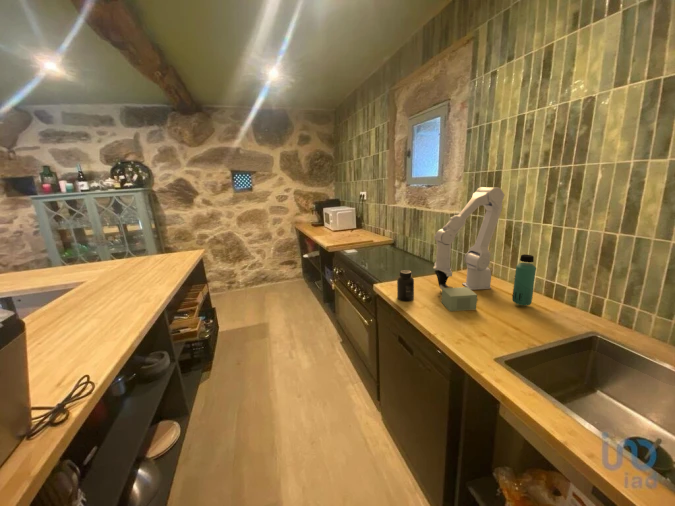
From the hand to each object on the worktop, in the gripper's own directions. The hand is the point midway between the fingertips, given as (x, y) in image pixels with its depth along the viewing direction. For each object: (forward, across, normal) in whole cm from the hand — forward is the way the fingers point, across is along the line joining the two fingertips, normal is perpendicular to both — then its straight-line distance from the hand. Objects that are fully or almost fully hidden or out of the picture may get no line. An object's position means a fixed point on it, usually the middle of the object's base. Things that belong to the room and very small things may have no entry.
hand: (441, 286), depth 123 cm
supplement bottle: (+2, +6, -18) cm, 19 cm away
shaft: (+2, +9, 0) cm, 9 cm away
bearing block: (+2, +16, 0) cm, 16 cm away
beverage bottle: (+2, +19, +23) cm, 30 cm away
